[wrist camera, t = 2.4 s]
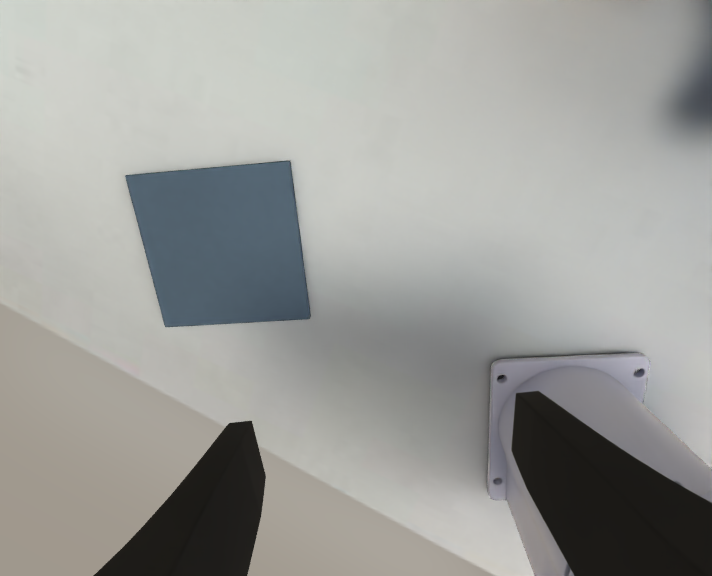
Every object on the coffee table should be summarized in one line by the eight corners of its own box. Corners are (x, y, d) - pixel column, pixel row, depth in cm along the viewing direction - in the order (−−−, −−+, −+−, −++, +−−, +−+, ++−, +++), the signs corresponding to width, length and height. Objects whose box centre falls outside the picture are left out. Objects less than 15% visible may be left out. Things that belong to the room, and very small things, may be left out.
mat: (310, 316, 21) (309, 319, 21) (168, 324, 22) (164, 327, 21) (290, 160, 18) (288, 160, 18) (129, 174, 19) (124, 175, 19)
